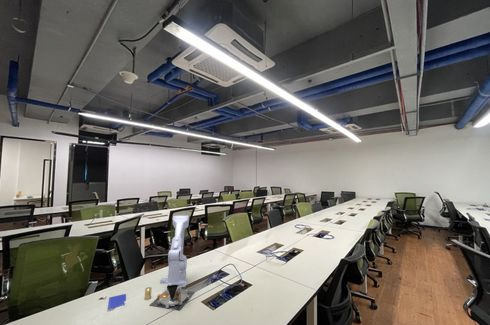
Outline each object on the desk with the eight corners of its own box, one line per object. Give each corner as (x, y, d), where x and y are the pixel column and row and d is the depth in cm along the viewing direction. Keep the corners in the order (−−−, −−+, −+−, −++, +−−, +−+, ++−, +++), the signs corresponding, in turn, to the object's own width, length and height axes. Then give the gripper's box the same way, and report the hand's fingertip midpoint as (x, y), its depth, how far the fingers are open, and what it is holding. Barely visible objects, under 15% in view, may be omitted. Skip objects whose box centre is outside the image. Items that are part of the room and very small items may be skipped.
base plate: (167, 289, 122) (168, 288, 123) (195, 293, 119) (195, 292, 119) (148, 307, 105) (148, 305, 105) (179, 312, 101) (180, 310, 101)
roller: (147, 298, 114) (147, 286, 114) (152, 298, 113) (152, 287, 114) (143, 301, 110) (143, 289, 111) (148, 302, 110) (149, 290, 110)
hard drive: (126, 305, 105) (126, 293, 116) (107, 309, 101) (109, 297, 112) (126, 308, 105) (125, 296, 116) (107, 312, 101) (108, 300, 111)
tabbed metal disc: (151, 297, 112) (152, 287, 113) (181, 286, 124) (181, 277, 125) (164, 312, 100) (164, 301, 100) (195, 298, 112) (196, 288, 112)
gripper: (157, 273, 106) (155, 300, 105) (182, 276, 104) (181, 304, 102) (165, 268, 113) (163, 293, 112) (188, 271, 110) (187, 297, 109)
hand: (172, 298), depth 108 cm, fingers closed
